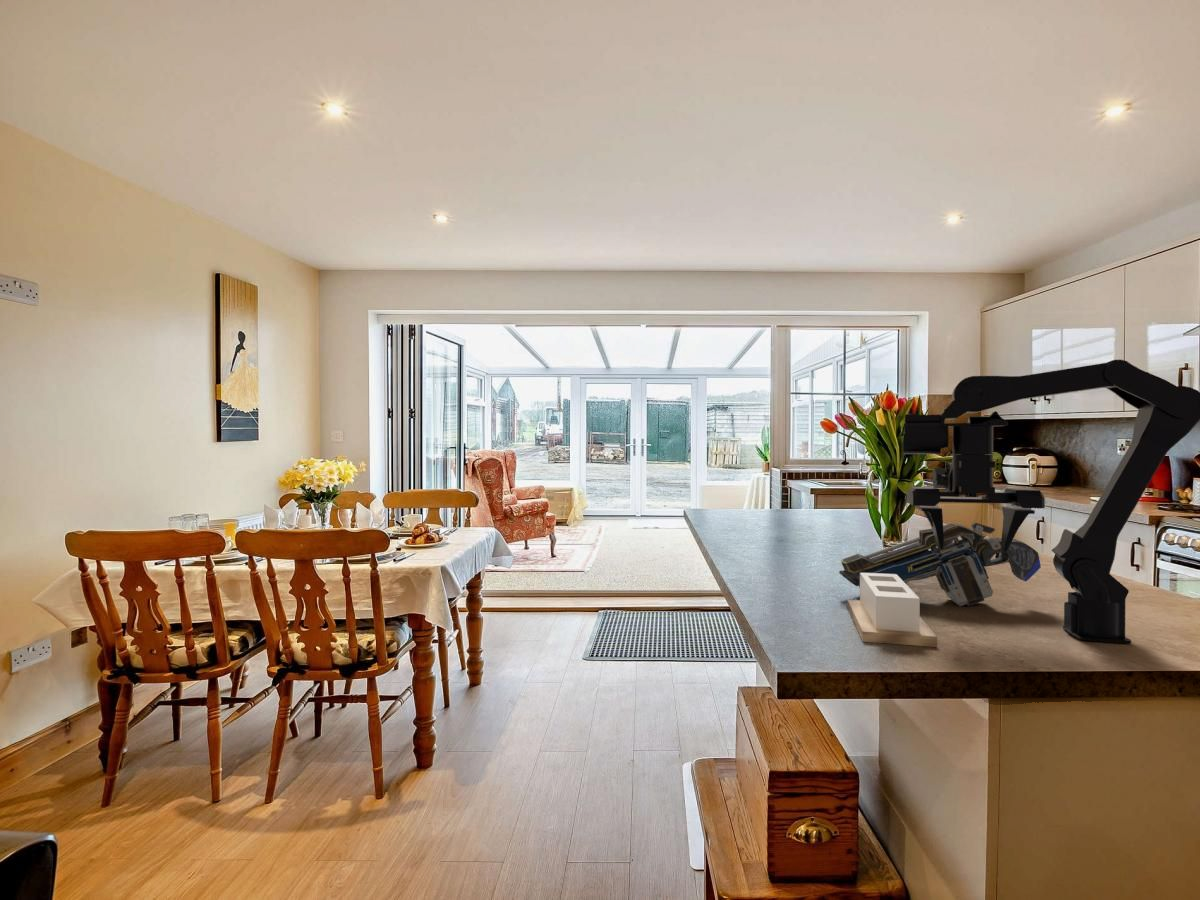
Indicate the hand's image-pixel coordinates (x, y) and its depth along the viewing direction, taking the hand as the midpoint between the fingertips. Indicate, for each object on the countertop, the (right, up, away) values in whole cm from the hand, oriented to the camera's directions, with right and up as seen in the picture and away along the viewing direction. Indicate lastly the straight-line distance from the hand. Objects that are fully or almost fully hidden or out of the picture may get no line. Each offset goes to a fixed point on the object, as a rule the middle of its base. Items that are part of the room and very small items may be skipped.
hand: (972, 550), depth 104 cm
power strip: (-14, -11, 0) cm, 17 cm away
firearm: (+1, -12, +14) cm, 19 cm away
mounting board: (-14, -12, -1) cm, 19 cm away
